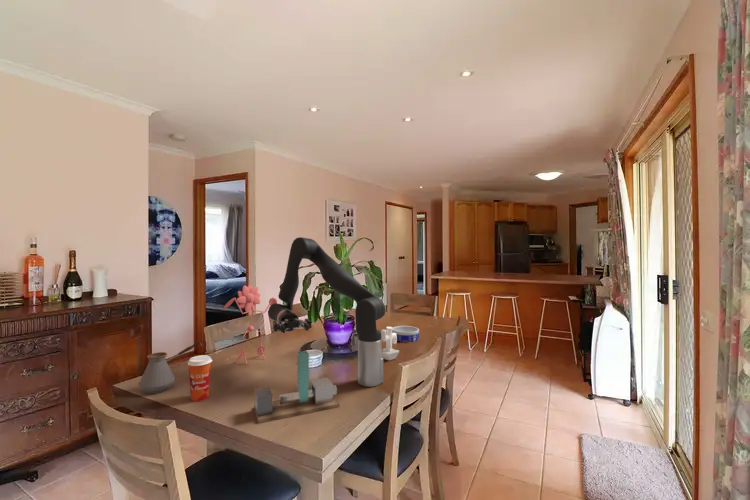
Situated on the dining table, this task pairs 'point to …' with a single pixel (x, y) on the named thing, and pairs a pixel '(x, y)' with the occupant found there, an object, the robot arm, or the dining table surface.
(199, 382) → the paper cup
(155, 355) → the coffee pot
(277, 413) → the walnut board
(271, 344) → the dining table surface
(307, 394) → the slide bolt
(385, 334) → the figurine
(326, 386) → the sleeve and socket
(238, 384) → the dining table surface
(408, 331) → the dog bowl
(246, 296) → the figurine
